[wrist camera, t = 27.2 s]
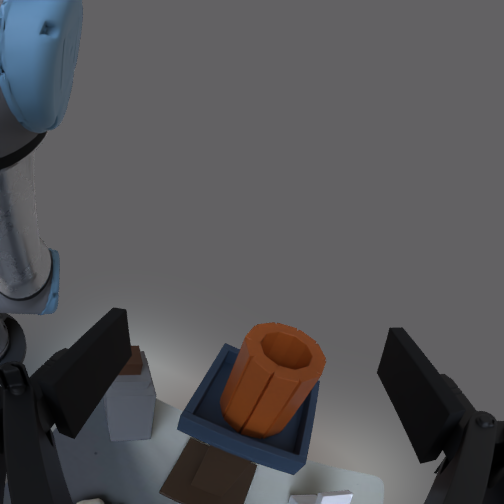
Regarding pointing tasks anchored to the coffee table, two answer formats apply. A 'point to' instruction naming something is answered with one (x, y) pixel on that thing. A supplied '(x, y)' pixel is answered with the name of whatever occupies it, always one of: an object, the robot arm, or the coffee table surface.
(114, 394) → the perfume bottle
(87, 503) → the decorative stone
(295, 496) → the figurine
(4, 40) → the robot arm
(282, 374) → the sleeve
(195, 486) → the tray
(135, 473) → the coffee table surface
